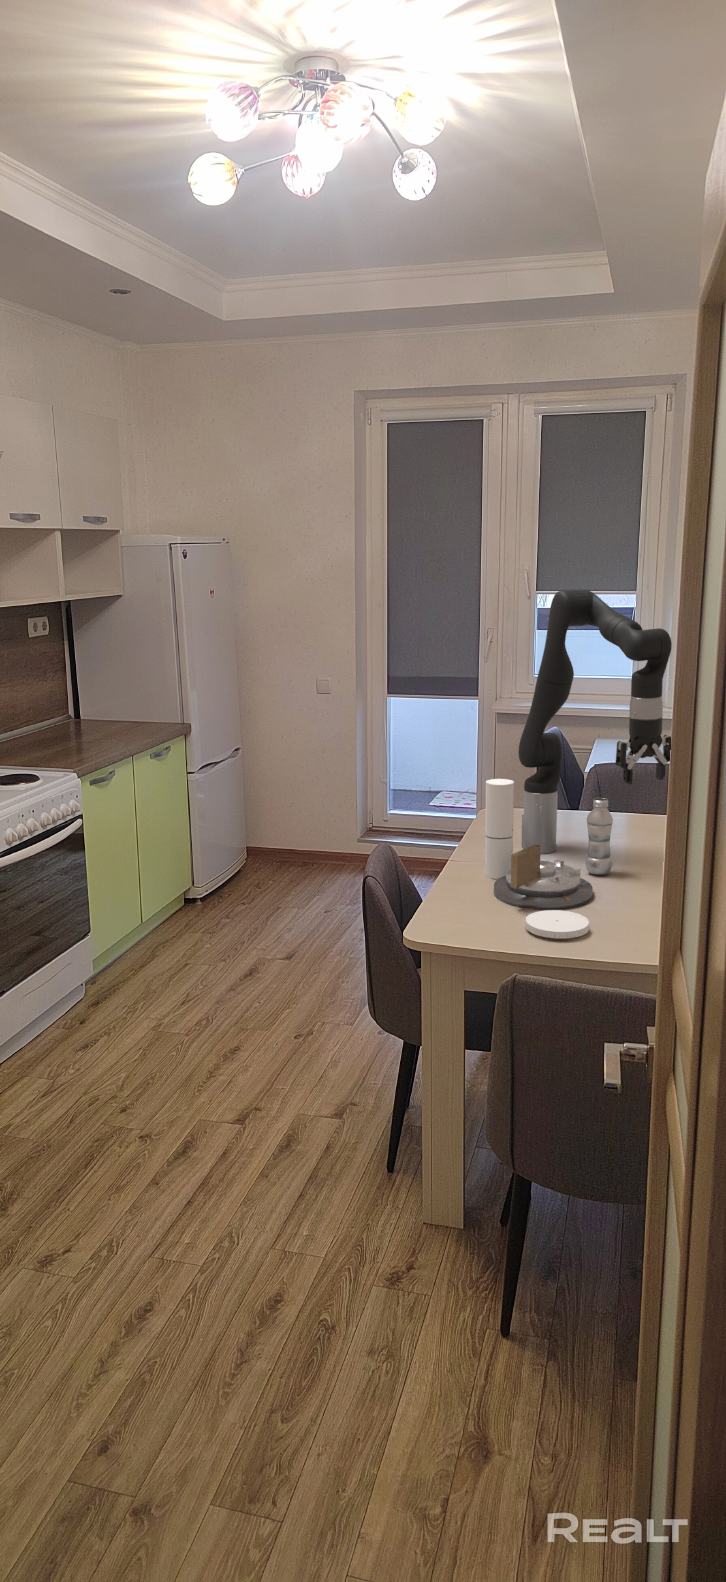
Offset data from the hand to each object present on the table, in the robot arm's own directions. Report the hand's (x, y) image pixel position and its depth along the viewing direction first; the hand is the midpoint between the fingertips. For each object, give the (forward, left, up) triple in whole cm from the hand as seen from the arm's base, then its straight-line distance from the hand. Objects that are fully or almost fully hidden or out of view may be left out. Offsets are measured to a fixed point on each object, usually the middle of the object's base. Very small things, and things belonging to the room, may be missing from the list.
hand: (644, 781), depth 248 cm
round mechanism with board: (-11, -22, -26) cm, 36 cm away
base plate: (-12, -20, -29) cm, 37 cm away
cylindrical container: (-30, -21, -29) cm, 47 cm away
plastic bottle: (-18, +2, -29) cm, 34 cm away
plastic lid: (+10, -32, -29) cm, 44 cm away
